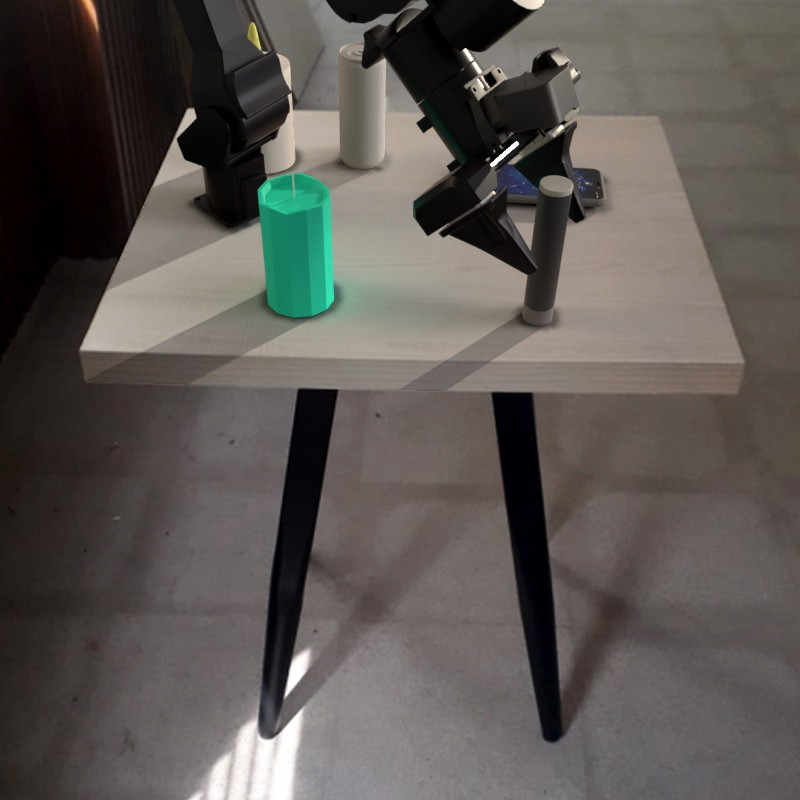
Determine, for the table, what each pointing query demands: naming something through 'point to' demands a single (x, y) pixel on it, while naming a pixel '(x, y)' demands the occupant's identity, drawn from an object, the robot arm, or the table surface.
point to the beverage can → (361, 108)
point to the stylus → (547, 248)
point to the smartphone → (526, 192)
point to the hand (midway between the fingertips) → (558, 245)
